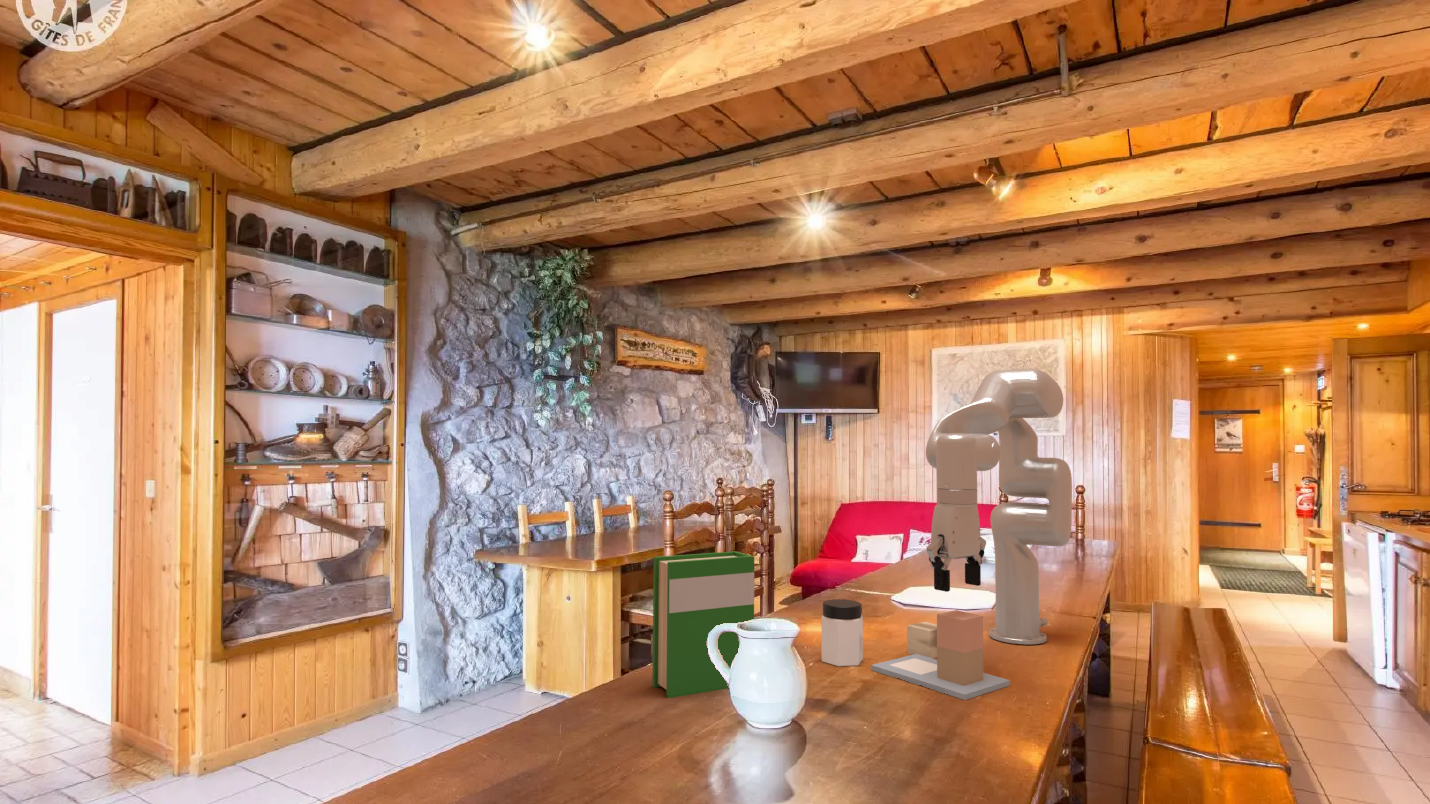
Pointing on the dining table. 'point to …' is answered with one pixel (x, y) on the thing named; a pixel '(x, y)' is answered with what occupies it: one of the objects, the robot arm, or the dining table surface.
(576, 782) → the dining table surface
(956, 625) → the terracotta block
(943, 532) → the robot arm
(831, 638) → the jar
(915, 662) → the board
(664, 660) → the hardback book
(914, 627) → the birch block
